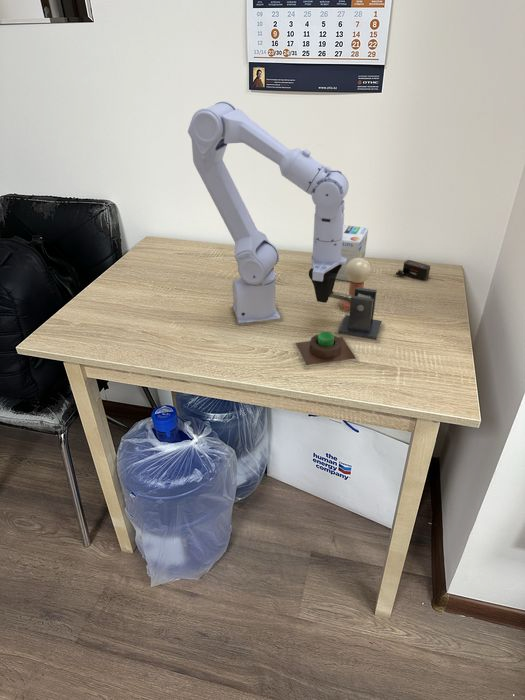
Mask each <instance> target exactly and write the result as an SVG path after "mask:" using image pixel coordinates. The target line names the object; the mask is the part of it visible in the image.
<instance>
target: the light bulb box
mask: <svg viewBox="0 0 525 700" xmlns="http://www.w3.org/2000/svg"><path fill="white" fill-rule="evenodd" d="M368 233H369V228H368V227H364V226H356V225H355V226H354V225H347V224H343V237H342V250H341V257H344V258H347V262H346V264H344V265H342V267H341V268H340V270H339V272H338V274H337V277H336V280H340V281H344V282H345V281H346V282H350V280H349V279H348V278H347V276H346V273H345V269H346V265H347V264H348V262H349V261H350V260H352V259H354V258H363V259H365V260H366V251H367V242H368Z"/></svg>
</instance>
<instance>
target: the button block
mask: <svg viewBox="0 0 525 700" xmlns="http://www.w3.org/2000/svg"><path fill="white" fill-rule="evenodd" d="M318 334H319V333H317V334H316V335H313V336H312V337H311V338H310V340H307V341H300V342H295V345H296V347H297V349H298V350H299V353H300V355H301V356H302V359H303V361H304V363H305V365H306V366H311V365H318V364H326V363H333V362H340V361H349V360H355V359H356V358H357V357H356V356H355V355H354V352H352V350H351V349H350V347H349V345H348V344H347V342H346V341H345V339H344V338H343V337H342V336H337V335H334V344H333V346H331V347H322V346H320V345H318Z"/></svg>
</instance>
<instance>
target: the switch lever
mask: <svg viewBox="0 0 525 700" xmlns="http://www.w3.org/2000/svg"><path fill="white" fill-rule="evenodd" d="M358 296H359V297H365V298H372V296H371V295H366V294H362V293H358ZM351 297H352V295H348V293H342V292H339V291H334V290H333V291H331V290H330V295H329V298H332V299H335V300H340V301H341V300H345V301H349V302H351Z"/></svg>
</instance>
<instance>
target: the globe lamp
mask: <svg viewBox="0 0 525 700" xmlns="http://www.w3.org/2000/svg"><path fill="white" fill-rule="evenodd" d="M345 273H346V276H347V278H348V279H349V280H350V281H349V285H348V293H347V295H352V296H354V294H355V288H356V287H359V288H365V282H366V281H367V280H368V279H369V278H370V276H371V273H372V267H371V265H370V263H369V261H368V260H367V259H366V258H365V259H363V258H354V259H352V260H350V261H349V262H348V264H347V265H346V269H345ZM350 304H351V302H349V301H345V300H340V307H341V308H342V309H343V310H345V311H348V312H350Z"/></svg>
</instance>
